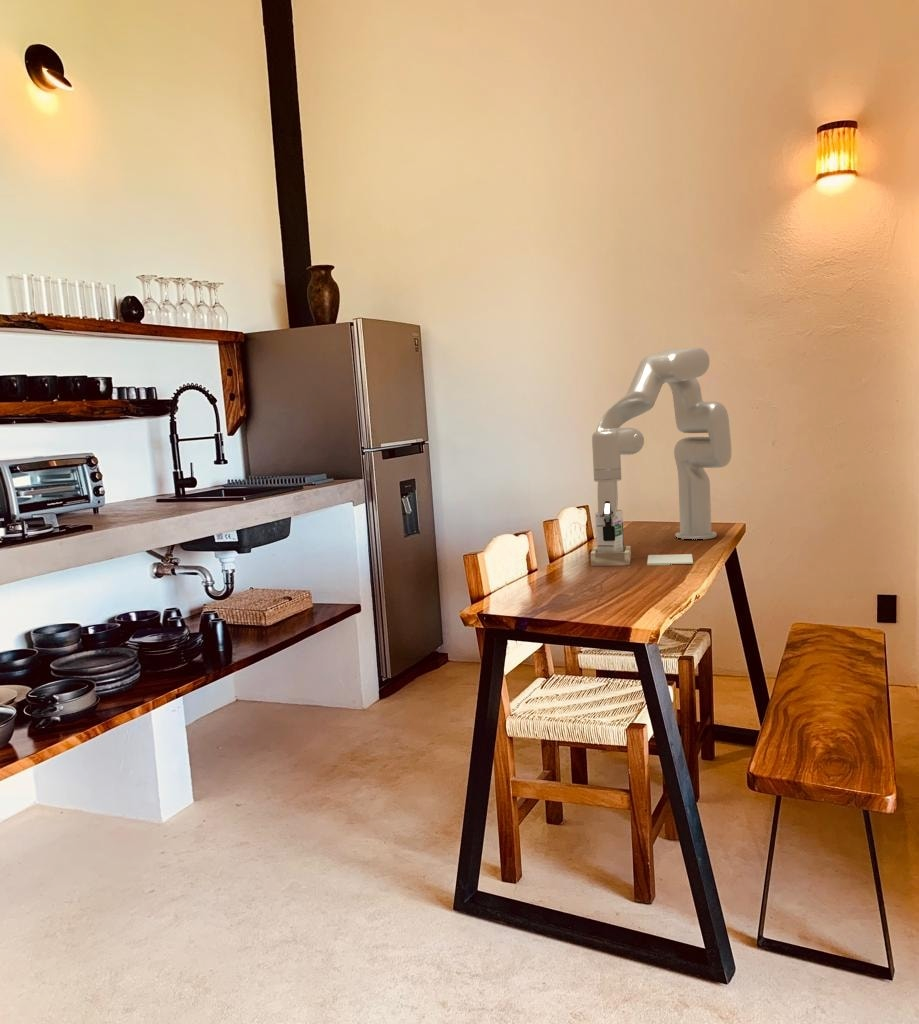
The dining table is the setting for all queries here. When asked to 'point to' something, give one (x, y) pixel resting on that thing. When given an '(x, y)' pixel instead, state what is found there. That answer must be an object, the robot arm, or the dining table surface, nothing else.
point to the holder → (610, 557)
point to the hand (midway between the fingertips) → (610, 537)
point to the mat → (670, 559)
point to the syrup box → (619, 534)
